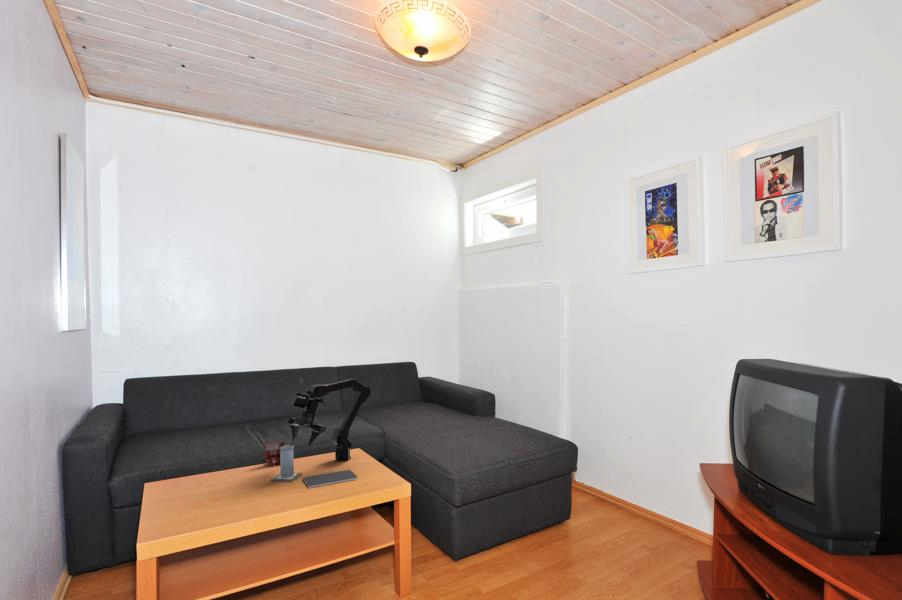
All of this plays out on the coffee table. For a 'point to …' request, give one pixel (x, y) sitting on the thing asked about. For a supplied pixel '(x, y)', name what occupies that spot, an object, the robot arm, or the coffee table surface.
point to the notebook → (329, 478)
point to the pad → (278, 478)
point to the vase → (287, 461)
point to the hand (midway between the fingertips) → (301, 442)
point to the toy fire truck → (273, 453)
